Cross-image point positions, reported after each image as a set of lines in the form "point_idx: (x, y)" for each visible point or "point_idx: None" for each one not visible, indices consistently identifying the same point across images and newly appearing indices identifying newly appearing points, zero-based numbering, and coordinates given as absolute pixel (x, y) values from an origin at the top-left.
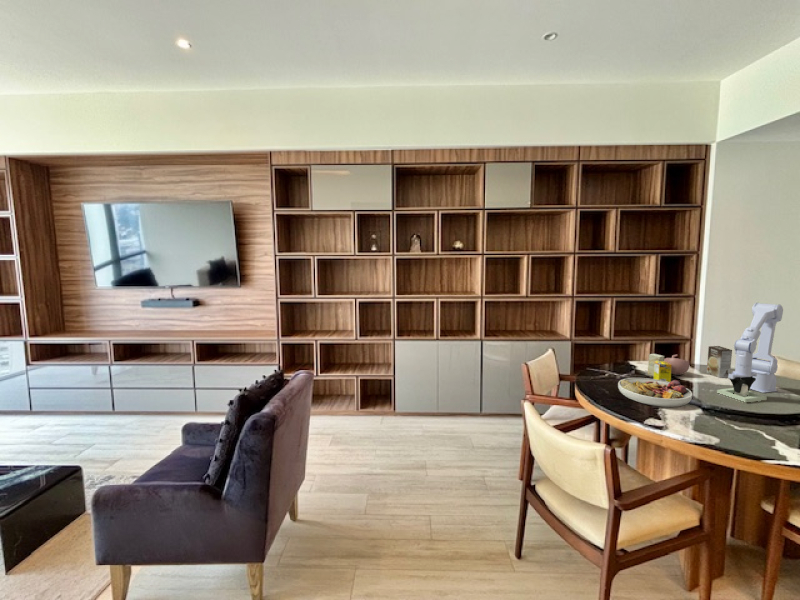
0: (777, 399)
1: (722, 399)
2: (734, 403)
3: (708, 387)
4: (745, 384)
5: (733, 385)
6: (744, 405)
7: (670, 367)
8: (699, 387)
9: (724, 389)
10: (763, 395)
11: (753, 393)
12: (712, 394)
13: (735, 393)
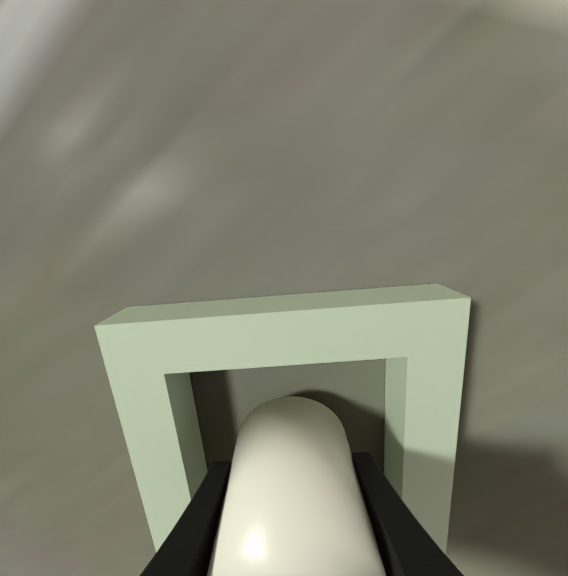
0: (541, 516)
1: (57, 442)
2: (90, 522)
3: (210, 74)
4: None
5: (158, 562)
6: (136, 560)
7: None
8: (77, 44)
9: (203, 335)
10: (442, 548)
11: (409, 496)
12: (58, 318)
13: (238, 437)
